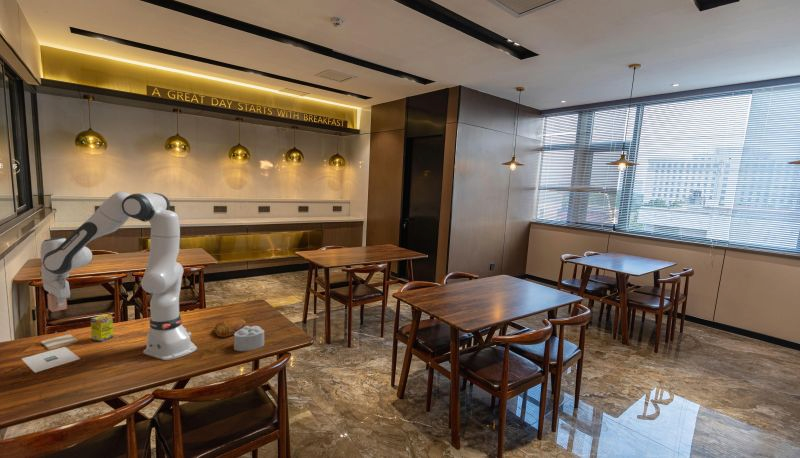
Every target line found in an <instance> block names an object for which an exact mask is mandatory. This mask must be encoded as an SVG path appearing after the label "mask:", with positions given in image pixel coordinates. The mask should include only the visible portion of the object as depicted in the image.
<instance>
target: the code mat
mask: <svg viewBox="0 0 800 458" xmlns="http://www.w3.org/2000/svg"><path fill="white" fill-rule="evenodd" d="M77 360H81V358H80V357H79V356H77V354H75V353H74V352H73V351H72V350H70V349H69V348H68V347H66V346H61V347H59V348H58V347H57V348H54V349H52V350H51V349H50V350H48V351H44V352H40V353H36V354H34V355H31V356H26V357H23V358H21V361H23V362H24V363H25V365H27V366H28V367H29V369H31V371H32V372H34V373H38V372H41V371H42V372H43V371H44V370H48V369H51V368H55V367H58V366H62V365H64V364H68V363H71V362H74V361H77Z"/></svg>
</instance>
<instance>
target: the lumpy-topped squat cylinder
mask: <svg viewBox="0 0 800 458" xmlns="http://www.w3.org/2000/svg"><path fill="white" fill-rule="evenodd" d="M264 346H265V329H262V327H261V326H258V325H253V326H249V325H247V326H244V327H243V328H242V329H240V330H238V331H237V332H235V334H234V335H233V349H234V351H237V352H248V351H253V350H256V349H260V348H262V347H264Z"/></svg>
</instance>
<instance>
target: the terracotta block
mask: <svg viewBox="0 0 800 458" xmlns="http://www.w3.org/2000/svg"><path fill="white" fill-rule="evenodd" d="M46 297H47V308H48V310H49V311H51V312H58V311H61V310H68V302H67V299H68V298H64V301H63V305H62V306H58V305H57V297H56V296H54V295H52V294H51V293H47V294H46Z"/></svg>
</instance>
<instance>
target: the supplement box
mask: <svg viewBox="0 0 800 458" xmlns="http://www.w3.org/2000/svg"><path fill="white" fill-rule="evenodd" d="M113 320H114V319H113V315H111V314H109V315H108V314H104V313H103V314H101V315H98V316H95V317H91V318H90V331H91V341H94V342H98V343H99V342H100V343H102V342H105V341H107V340H111V339H112V338H114V321H113Z"/></svg>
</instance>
